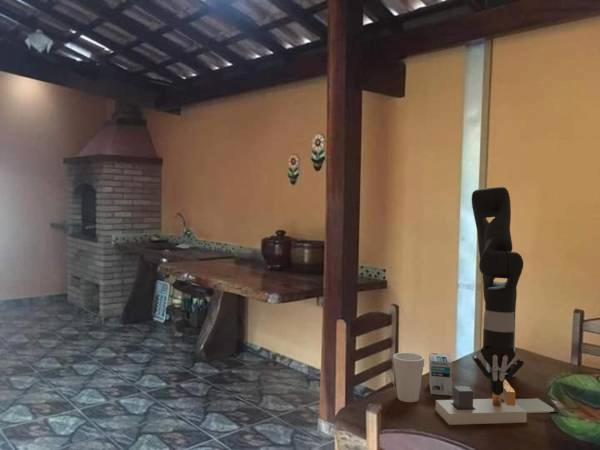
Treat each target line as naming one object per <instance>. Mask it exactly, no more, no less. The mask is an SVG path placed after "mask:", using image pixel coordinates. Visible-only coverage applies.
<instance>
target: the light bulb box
mask: <svg viewBox="0 0 600 450" xmlns="http://www.w3.org/2000/svg"><path fill="white" fill-rule="evenodd" d="M428 356H429V358H428V359H429V361H428V362H429V363H428V364H429V366H428V367H429V368H428V370H429V372H428V373H429V376H428V378H429V379H428V380H429V383H428V384H429V390H430V395H441V396H450V397H451V396H452V397H453V361H452V359H451V356H450V353H439V352H429V355H428Z"/></svg>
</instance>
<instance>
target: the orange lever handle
mask: <svg viewBox="0 0 600 450" xmlns="http://www.w3.org/2000/svg"><path fill="white" fill-rule="evenodd" d="M491 399H492V404H493V405H495V406H501V402H502V399H503V400H504V402H505V403H506V405H509V406H515V399H516V391H515V390H514V388H513V387H512V385H510V383H509V382H508V381H507V379H506V380H504V382H503V393H501V395H494V394H493V393H492V397H491Z"/></svg>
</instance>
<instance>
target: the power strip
mask: <svg viewBox="0 0 600 450" xmlns="http://www.w3.org/2000/svg"><path fill="white" fill-rule="evenodd" d="M435 411H436V413H437V414H439V416H440V417H441V418H442V419H443V420H444V421H445V422H446V423H447V424H448V425H449V426H453V425H483V424H513V423H514V424H515V423H518V424H519V423H527V417H528V416H527V415H528V413H527V411H525V410H524V409H522V408H521V407H520V406H518V405H517V404H515V406H509V405H506V403H505V402H504V400H503V399H502V402H501V406H495V405H493V404H492V398H473V410H457V409H456V408H455V407H454V406H453V399H436V400H435Z"/></svg>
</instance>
